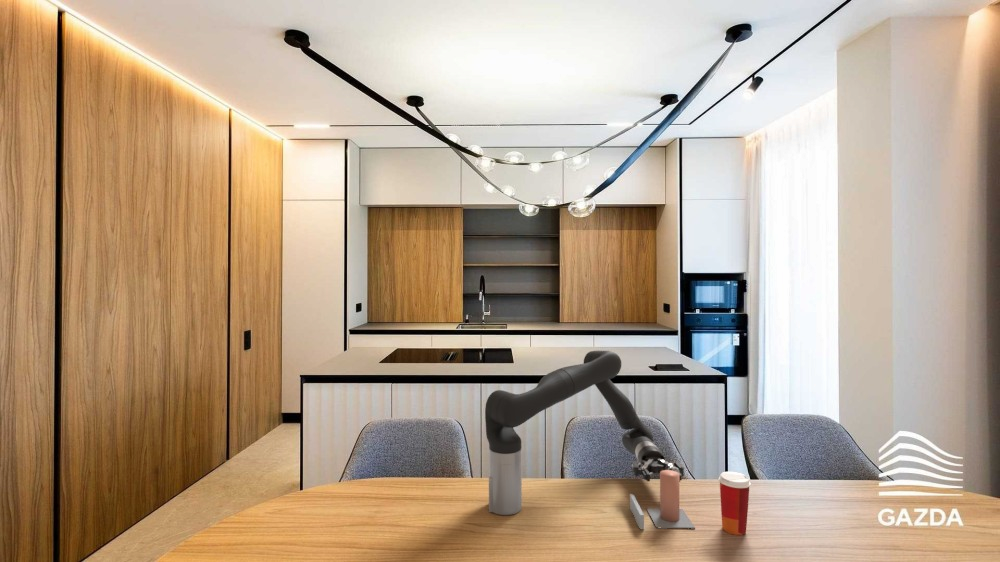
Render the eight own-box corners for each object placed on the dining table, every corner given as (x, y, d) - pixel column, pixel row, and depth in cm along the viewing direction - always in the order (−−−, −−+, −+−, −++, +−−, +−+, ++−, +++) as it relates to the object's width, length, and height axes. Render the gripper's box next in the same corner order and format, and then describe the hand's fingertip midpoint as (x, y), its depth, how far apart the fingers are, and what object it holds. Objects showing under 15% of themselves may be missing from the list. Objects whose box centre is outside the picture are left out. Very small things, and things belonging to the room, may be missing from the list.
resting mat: (656, 528, 131) (656, 526, 131) (646, 509, 141) (646, 508, 141) (695, 528, 131) (695, 527, 131) (682, 510, 141) (682, 509, 141)
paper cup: (743, 522, 134) (744, 471, 134) (755, 538, 126) (755, 483, 126) (713, 521, 135) (713, 470, 134) (723, 536, 127) (723, 482, 127)
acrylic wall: (640, 530, 131) (640, 514, 130) (629, 508, 143) (629, 494, 142) (643, 530, 130) (643, 515, 130) (633, 508, 142) (633, 494, 142)
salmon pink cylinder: (662, 521, 134) (663, 477, 134) (657, 512, 139) (657, 469, 139) (681, 522, 134) (682, 477, 133) (676, 513, 139) (676, 470, 138)
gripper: (626, 444, 158) (638, 465, 142) (672, 445, 158) (689, 465, 142) (626, 468, 159) (638, 491, 142) (672, 468, 158) (689, 491, 142)
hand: (663, 478), depth 142 cm, fingers open, 8 cm apart
